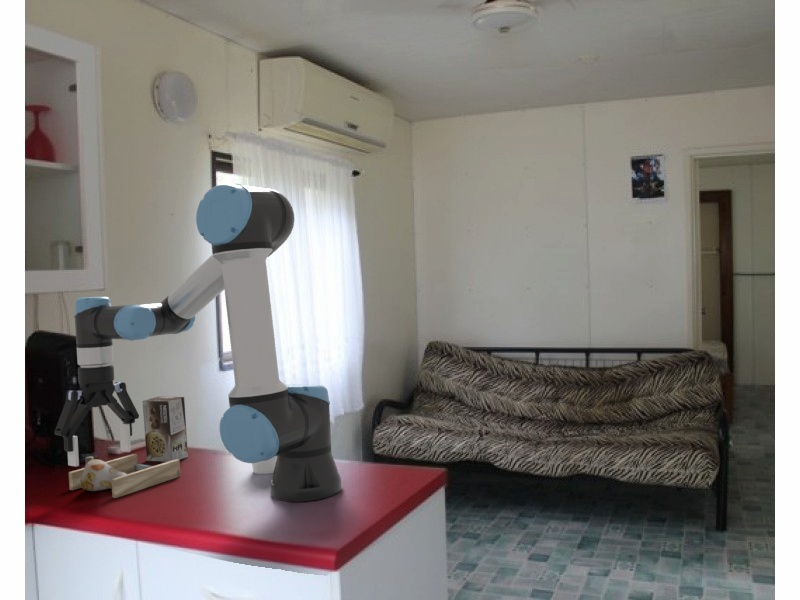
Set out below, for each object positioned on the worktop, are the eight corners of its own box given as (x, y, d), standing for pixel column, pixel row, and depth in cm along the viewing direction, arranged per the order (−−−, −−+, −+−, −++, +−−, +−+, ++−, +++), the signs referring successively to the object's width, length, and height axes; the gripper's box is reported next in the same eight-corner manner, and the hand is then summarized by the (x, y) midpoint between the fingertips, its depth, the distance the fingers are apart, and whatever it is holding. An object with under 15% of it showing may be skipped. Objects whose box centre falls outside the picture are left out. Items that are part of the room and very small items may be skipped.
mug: (125, 494, 162) (98, 459, 161) (92, 512, 165) (65, 477, 163) (140, 477, 170) (114, 443, 168) (108, 494, 172) (83, 461, 170)
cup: (291, 465, 179) (289, 417, 179) (278, 475, 170) (275, 424, 170) (257, 465, 181) (254, 417, 181) (242, 475, 172) (239, 425, 172)
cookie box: (189, 456, 194) (185, 396, 193) (172, 463, 188) (168, 400, 187) (162, 455, 197) (158, 395, 197) (145, 461, 192) (141, 399, 191)
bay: (180, 476, 174) (179, 459, 174) (116, 497, 159) (114, 479, 159) (134, 469, 183) (133, 453, 183) (69, 489, 168) (68, 472, 167)
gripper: (130, 357, 177) (135, 444, 178) (33, 372, 156) (39, 470, 157) (151, 358, 173) (156, 447, 174) (54, 373, 152) (60, 474, 153)
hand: (100, 458), depth 166 cm, fingers open, 13 cm apart
